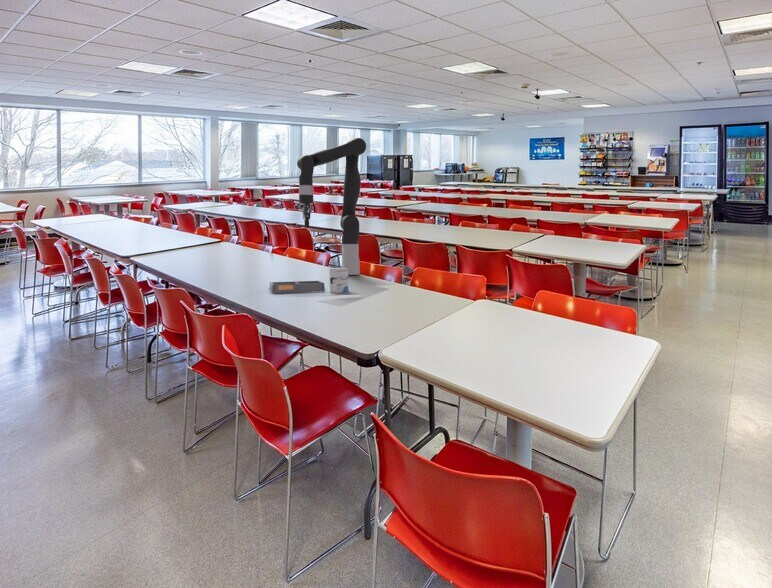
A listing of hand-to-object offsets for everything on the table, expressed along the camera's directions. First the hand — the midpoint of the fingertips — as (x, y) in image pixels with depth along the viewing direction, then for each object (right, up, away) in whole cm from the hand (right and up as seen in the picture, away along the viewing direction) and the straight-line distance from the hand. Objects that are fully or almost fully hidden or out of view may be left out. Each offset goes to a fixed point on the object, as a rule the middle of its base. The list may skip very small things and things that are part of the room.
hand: (306, 227), depth 255 cm
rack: (-2, -34, -17) cm, 38 cm away
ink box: (+19, -35, -20) cm, 44 cm away
